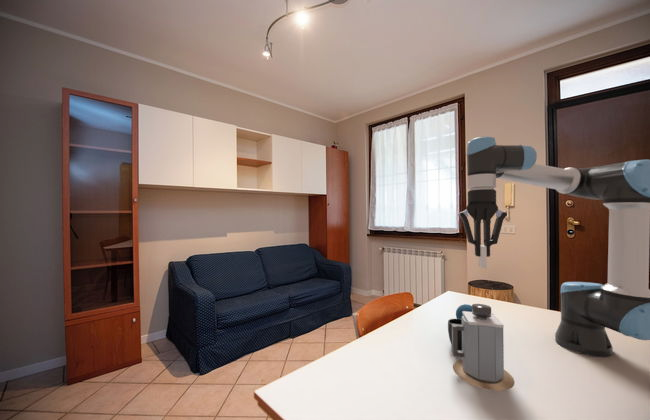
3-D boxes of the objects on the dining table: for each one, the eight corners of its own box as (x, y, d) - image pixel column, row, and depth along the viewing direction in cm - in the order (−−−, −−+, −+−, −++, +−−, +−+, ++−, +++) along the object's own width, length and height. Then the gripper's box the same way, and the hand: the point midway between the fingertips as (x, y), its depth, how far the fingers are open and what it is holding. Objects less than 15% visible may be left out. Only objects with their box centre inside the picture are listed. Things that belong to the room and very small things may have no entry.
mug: (489, 353, 94) (488, 325, 94) (458, 356, 92) (458, 328, 92) (471, 342, 102) (471, 316, 102) (443, 345, 100) (443, 319, 100)
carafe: (495, 366, 85) (495, 313, 85) (507, 386, 75) (507, 326, 76) (449, 360, 89) (449, 309, 89) (455, 378, 79) (455, 321, 79)
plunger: (492, 342, 84) (491, 303, 84) (500, 354, 77) (500, 312, 77) (465, 339, 86) (464, 301, 87) (470, 351, 79) (470, 309, 79)
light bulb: (480, 333, 109) (480, 303, 109) (479, 342, 102) (478, 310, 102) (457, 329, 114) (457, 300, 114) (454, 336, 107) (454, 306, 107)
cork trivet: (502, 364, 87) (502, 362, 87) (524, 397, 72) (524, 395, 72) (448, 357, 92) (448, 355, 92) (458, 386, 76) (458, 384, 76)
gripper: (501, 189, 84) (502, 265, 84) (455, 191, 88) (456, 264, 88) (510, 187, 77) (512, 270, 77) (460, 189, 81) (461, 268, 80)
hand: (482, 267), depth 82 cm, fingers closed
